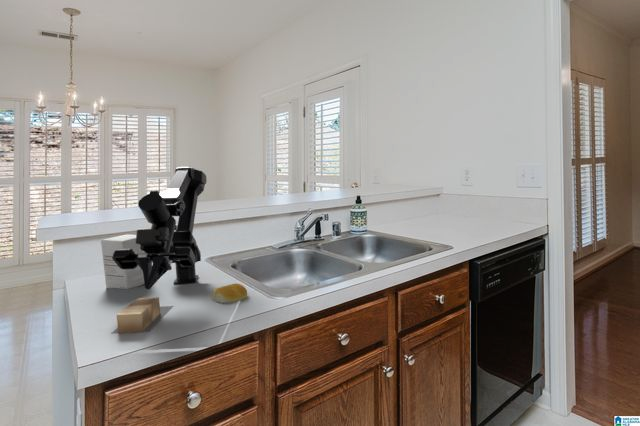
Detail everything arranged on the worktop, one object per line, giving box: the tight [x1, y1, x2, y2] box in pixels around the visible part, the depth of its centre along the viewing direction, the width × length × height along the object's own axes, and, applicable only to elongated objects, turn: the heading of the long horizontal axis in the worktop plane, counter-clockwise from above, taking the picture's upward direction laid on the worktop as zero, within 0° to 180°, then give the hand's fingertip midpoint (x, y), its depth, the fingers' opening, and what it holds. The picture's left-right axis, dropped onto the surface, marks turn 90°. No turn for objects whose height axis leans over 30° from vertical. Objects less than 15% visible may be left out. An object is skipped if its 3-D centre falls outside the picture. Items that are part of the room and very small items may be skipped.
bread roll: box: [211, 283, 248, 304], centre depth 98 cm, size 8×9×4 cm
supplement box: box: [100, 233, 145, 290], centre depth 112 cm, size 9×9×15 cm
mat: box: [111, 305, 174, 334], centre depth 85 cm, size 14×8×1 cm, turn 3°
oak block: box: [116, 296, 161, 334], centre depth 83 cm, size 4×5×10 cm
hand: (147, 288), depth 87 cm, fingers closed
